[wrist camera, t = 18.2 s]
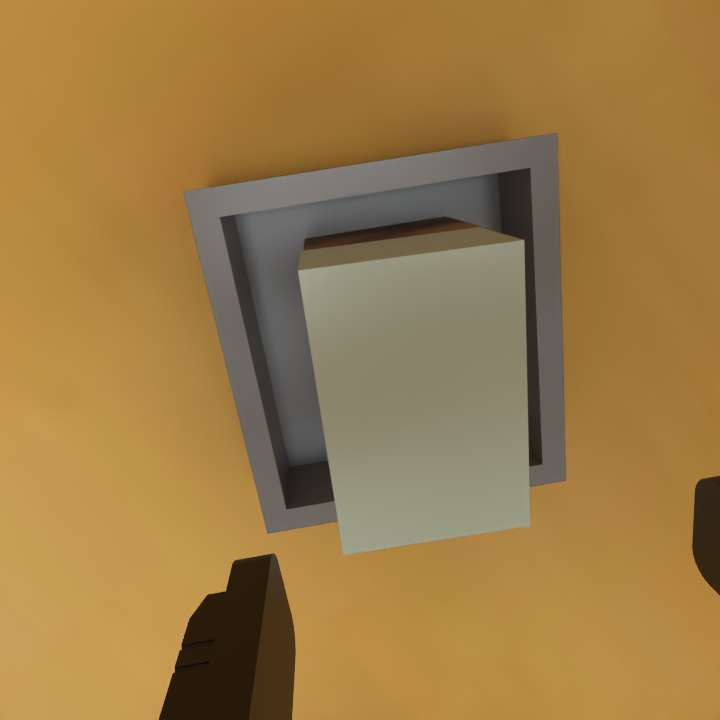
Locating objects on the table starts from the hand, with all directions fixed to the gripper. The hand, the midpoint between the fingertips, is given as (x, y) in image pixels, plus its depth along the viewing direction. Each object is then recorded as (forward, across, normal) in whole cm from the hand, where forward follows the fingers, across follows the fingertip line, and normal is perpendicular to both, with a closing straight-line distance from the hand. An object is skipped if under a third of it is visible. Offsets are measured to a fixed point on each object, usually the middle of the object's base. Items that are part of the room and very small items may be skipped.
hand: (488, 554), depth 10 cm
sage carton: (+10, 0, 0) cm, 10 cm away
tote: (+16, 0, 0) cm, 16 cm away
